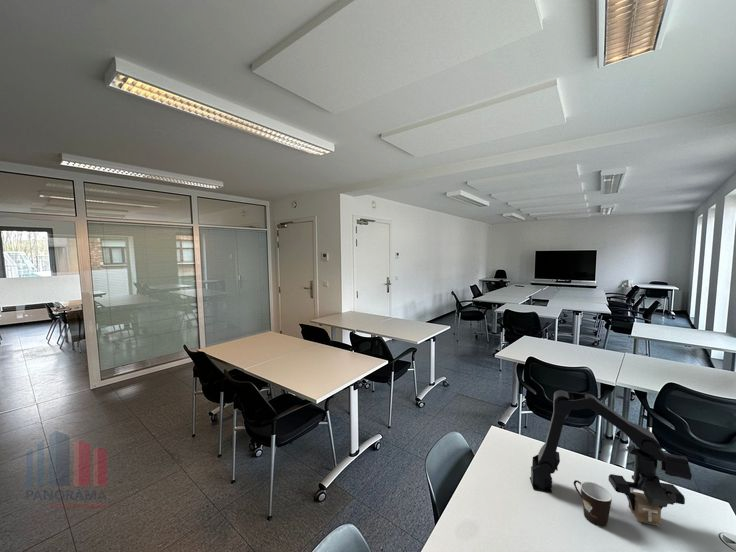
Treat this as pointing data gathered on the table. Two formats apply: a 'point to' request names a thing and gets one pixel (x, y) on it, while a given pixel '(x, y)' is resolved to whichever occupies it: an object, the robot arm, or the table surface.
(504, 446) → the table surface
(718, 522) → the table surface
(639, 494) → the walnut letter cube
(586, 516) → the coffee mug
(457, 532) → the table surface
